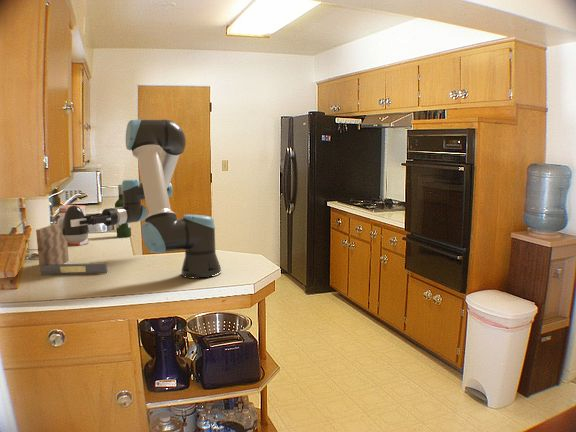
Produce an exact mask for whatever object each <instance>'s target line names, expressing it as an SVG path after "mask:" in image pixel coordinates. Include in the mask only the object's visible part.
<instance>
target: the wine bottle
mask: <svg viewBox="0 0 576 432" xmlns="http://www.w3.org/2000/svg"><path fill="white" fill-rule="evenodd" d="M117 187H118V199H117V200H116V202H115V203H114V208H117V207H124V204H123V192H122V184H117ZM131 224H132V223H125V224H121V225H119V224H118V225H115V227H116V237H117V238H119V239H120V238H122V239H123V238H125V239H126V238H130V237H132V227H131V226H132V225H131Z"/></svg>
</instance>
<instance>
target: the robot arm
mask: <svg viewBox="0 0 576 432" xmlns="http://www.w3.org/2000/svg"><path fill="white" fill-rule="evenodd" d="M186 144H187V139H186V135H185V132H184V130H183V129H182V128H181V126H179V124H178V123H177V122H175V121H173V120H170V119H140V118H139V119H131V120H128V122H127V124H126V130H125V147H126V150H128V151H131V152H132V155H133V157H134V158H136V159H137V163H138V167H139V174H140V179H141V182H140V180H139V179H138V178H137V179H134V178H133V179H124V180H122V182H121V185H122V192H123V204H124V207H117V208H115V207H111V208H110V207H109V208H104V209H102V212H101V213H99V212H98V213H94V214H86V215H85V218H84V219H76V220H70V221H71V227H75V226H83V225H87V224H88V226H90V225H91V226H94V225H99V224H103V225H105V226H107V227H110V226H111V227H112V226H116V225H118V224H119V225H121V224H125V223H130V224H132V223H138V222H142V221H144V222H143V223H142V225H141V236H142V240H143V244H144V245H145V248H146V249H147V250H148V252H150V253H152V254H160V253H161V254H164V253H168V252H176V251H182V250H184V253H185V254H184V259H183V263H182V267H181V276H182V275H183V276H186V277H194V278H193V279H200V278H199V277H208V276H212V275H215V274H217V273H219V272H220V271H221V272H222V268H221V264H220V261H219V260H218V259H219V258H218V256H217V253H216V238H215V237H216V232H215V230H216V228H215V221H214V218H213V217H212V216H210V215H209V216H208V215H201V214H184V215H182V218H181V219H179V218H178V217H177V213H176V212H174V211H173V210H172V208H171V203H170V198H171V197H172V196H173V185H172V183H171V181H172V179H173V176H174V173H175V170H176V167H177V163H178V161H179V158H180V155H182V154H184V151H185V149H186ZM142 200H144V201H145V204H146V206H144V205H143V204H141V203H142V202H141V201H142ZM63 220H64V218H61V219H60V218H57V223H58V225H63ZM183 276H182V277H183ZM186 277H185V278H186ZM195 277H197V278H195ZM208 278H209V277H208Z"/></svg>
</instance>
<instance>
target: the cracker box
mask: <svg viewBox="0 0 576 432" xmlns="http://www.w3.org/2000/svg"><path fill="white" fill-rule="evenodd" d="M73 205H75V204H64V205H62V204H61V205H58V211H59V219H61V218H64V215H65V213H66V210H67V209H68V208H69V207H70V206H73ZM75 206H78V207H79V208H80V209H81V210H82V212H83V214H84V216H85V215H87V209H86V205H78V204H77V205H75ZM88 244H89V236H88V237H87V239H86V240H85V241H83V242H79V243H70V242H67V245H70V246H79V247H81V246H85V245H88Z"/></svg>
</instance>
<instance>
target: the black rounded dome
mask: <svg viewBox="0 0 576 432" xmlns="http://www.w3.org/2000/svg"><path fill="white" fill-rule="evenodd" d="M72 205H73V206H70V207H69V208H68V209H67V210H66V213H65V215H64V220H63V226H62V235H63V236H64V238H65V240H66V241H67V242H70V243H79V242H83V241H85V240H86V239H87V237H88V238H89V233H90V230H89V225H88V224H87V225H83V226H75V227H71V221H70V220H76V219H84V218H85V216H84V214H83V212H82V210H81V209H80V208H79V207H78V206H75V204H72Z"/></svg>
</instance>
